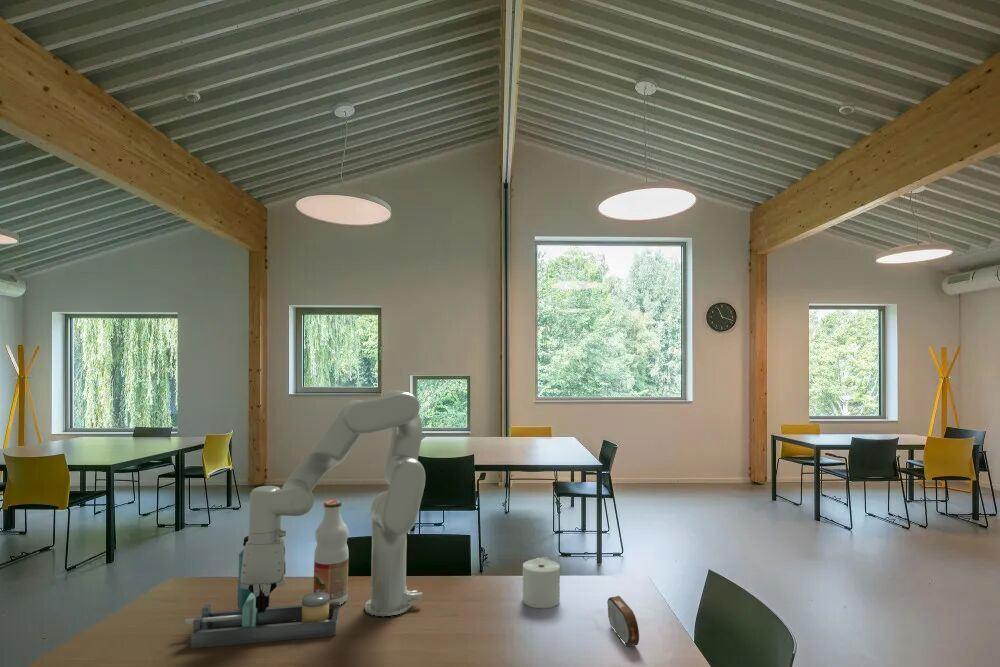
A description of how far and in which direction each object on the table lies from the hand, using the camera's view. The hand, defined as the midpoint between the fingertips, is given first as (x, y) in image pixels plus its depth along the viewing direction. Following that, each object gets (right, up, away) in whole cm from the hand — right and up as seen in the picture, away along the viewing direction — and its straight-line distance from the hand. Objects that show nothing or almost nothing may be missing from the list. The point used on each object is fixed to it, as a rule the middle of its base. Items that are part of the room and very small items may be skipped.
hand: (262, 610), depth 141 cm
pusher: (-10, -5, -2) cm, 11 cm away
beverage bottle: (-8, -6, +11) cm, 15 cm away
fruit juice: (+12, -7, +18) cm, 22 cm away
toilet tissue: (+72, -7, +20) cm, 75 cm away
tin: (+91, -6, -2) cm, 91 cm away
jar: (+13, -6, +2) cm, 14 cm away
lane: (+1, -5, 0) cm, 5 cm away
